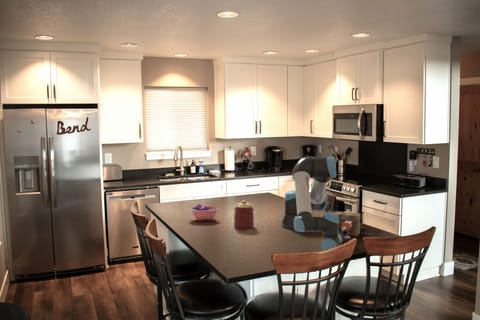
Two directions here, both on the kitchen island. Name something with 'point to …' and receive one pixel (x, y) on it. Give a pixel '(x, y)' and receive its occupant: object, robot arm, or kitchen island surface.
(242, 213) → the canister
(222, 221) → the kitchen island surface
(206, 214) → the cell model
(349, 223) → the red plug
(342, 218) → the walnut plug block
